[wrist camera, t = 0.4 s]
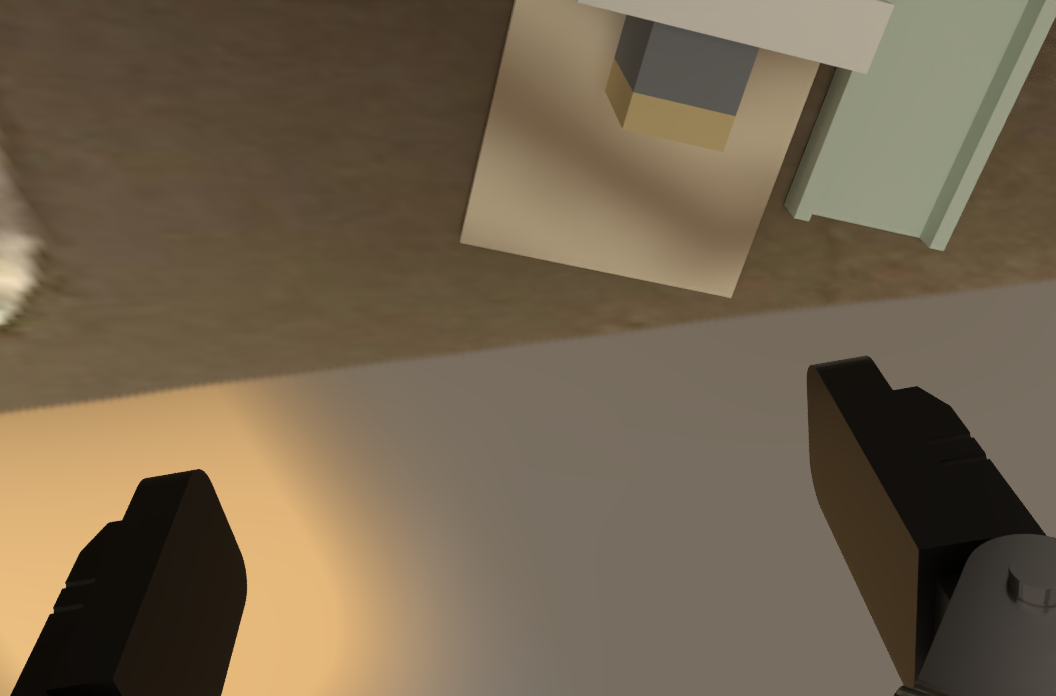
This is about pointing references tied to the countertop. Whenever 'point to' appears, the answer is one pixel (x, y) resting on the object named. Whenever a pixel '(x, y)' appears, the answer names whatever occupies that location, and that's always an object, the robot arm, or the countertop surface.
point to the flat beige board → (620, 160)
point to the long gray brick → (678, 82)
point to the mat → (919, 116)
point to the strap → (777, 24)
